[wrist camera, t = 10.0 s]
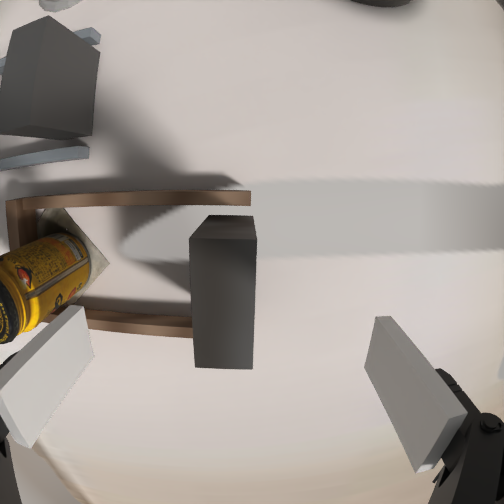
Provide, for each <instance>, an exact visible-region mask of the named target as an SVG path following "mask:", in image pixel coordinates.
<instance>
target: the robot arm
mask: <svg viewBox="0 0 504 504" xmlns="http://www.w3.org/2000/svg"><path fill="white" fill-rule="evenodd" d="M352 1H355V2H358V3H362V4H366V5H371V6H378V7H396V6H401V5H405V4H407V3H409V2H411V1H412V0H352ZM496 1H497V2H498V3H499V5H500V6H501V7H502V8H503V10H504V0H496ZM93 358H94V352H93V348H92V344H91V339H90V335H89V330H88V326H87V321H86V316H85V311H84V306H76V305H70V306H69V307H68V308H66V309H65V310H64V311H63V312H62V313H61V314H60V315H58V316H57V317H56V318H55V319H54V320H53V321H52V322H51V323H49V324H48V325H47V326H46V327H45V328H44V329H43V330H42V331H41V332H40V333H38V334H37V335H36V336H35V337H34V338H33V339H32V340H31V341H30V342H29V343H28V344H27V345H26V346H24V347H23V348H22V349H21V350H20V351H18V352H16V353H14V354H12V355H11V356H9V357H8V358H7V359H6V360H5V361H4V362H3V364H1V365H0V504H22V502H21V499H20V495H19V491H18V487H17V483H16V478H15V474H14V469H13V464H12V459H11V452H10V446H9V442H8V440H7V438H6V436H7V434H8V433H9V432H10V433H11V435H12V437H13V438H14V440H15V442H16V443H18V444H20V445H23V446H25V447H27V448H29V449H31V447H32V446H33V444H34V443H35V441H36V440H37V438H38V437H39V435H40V434H41V432H42V430H43V429H44V427H45V426H46V424H47V423H48V421H49V420H50V418H51V417H52V415H53V414H54V413H55V411H56V410H57V408H58V407H59V405H60V404H61V402H62V401H63V399H64V398H65V397H66V395H67V394H68V392H69V391H70V389H71V388H72V387H73V385H74V384H75V382H76V381H77V380H78V378H79V377H80V375H81V374H82V373H83V371H84V370H85V369H86V367H87V366H88V364H89V363H90V362H91V360H92V359H93ZM364 368H365V370H366V372H367V374H368V376H369V378H370V380H371V382H372V384H373V386H374V388H375V390H376V392H377V394H378V396H379V398H380V400H381V402H382V404H383V406H384V408H385V410H386V412H387V414H388V416H389V418H390V420H391V422H392V424H393V426H394V428H395V430H396V432H397V434H398V437H399V439H400V441H401V443H402V445H403V447H404V449H405V451H406V454H407V456H408V458H409V460H410V462H411V464H412V467H413V469H414V471H415V473H419V472H423V471H426V470H429V469H433V468H434V467H435V466H436V464H437V463H438V461H439V460H440V458H442V460H443V462H444V464H445V465H444V466H443V468H442V469H441V471H440V472H439V473H438V475H437V476H436V477H435V479H434V480H433V483H435V482H436V481H437V483H436V485H435V488H434V491H433V493H432V496H431V498H430V500H429V503H428V504H504V423H503V422H502V420H501V419H500V418H499V417H497V416H496V415H493V414H491V413H480V411H479V410H478V409H477V408H476V406H475V405H474V404H473V402H472V401H471V400H470V399H469V397H468V396H467V395H466V394H465V392H464V391H462V389H461V387H460V386H459V385H457V382H456V381H455V380H454V379H453V377H452V376H451V375H450V374H448V373H447V372H445V371H444V370H442V369H441V368H439V369H434V368H433V367H432V365H431V364H430V363H429V362H428V360H427V359H426V358H425V357H424V355H423V354H422V353H421V352H420V350H419V349H418V348H417V347H416V346H415V344H414V343H413V342H412V341H411V339H410V338H409V337H408V336H407V335H406V333H405V332H404V331H403V330H402V329H401V327H400V326H399V325H398V324H397V323H396V322H395V320H394V319H393V318H392V317H391V316H382V317H376V318H375V323H374V328H373V332H372V337H371V341H370V346H369V350H368V354H367V358H366V362H365V366H364ZM437 479H438V480H437Z"/></svg>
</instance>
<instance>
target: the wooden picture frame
mask: <svg viewBox="0 0 504 504" xmlns="http://www.w3.org/2000/svg"><path fill="white" fill-rule="evenodd" d="M126 205H234V206H237V205H238V206H240V205H241V206H250V205H251V191H243V190H148V191H116V192H93V193H76V194H60V195H47V196H35V197H24V198H19V199H13V200H8V201H6V217H7V228H8V238H9V246H10V251H12V250H15V249H17V248H19V247H22V246H24V245H27V244H29V243H31V242H34V241H36V240H38V236H37V225H36V211H35V209H44V208H64V207H89V206H126ZM189 253H190V254H189V257H190V288H191V311H192V317H180V316H162V315H147V314H134V313H122V312H110V311H100V310H90V309H84V311H85V316H86V321H87V326H88V329H94V330H103V331H111V332H121V333H130V334H141V335H153V336H166V337H181V338H193V345H194V359H195V367H197V368H216V369H253V343H254V315H255V285H256V255H257V237H256V231H255V225H254V219H253V216H237V215H209V216H208V217H207V218H206V219H205V220H204V222H203V223H202V224H201V225H200V226H199V227H198V228H197V230H196V231H195V232H194V233H193V234H192V236H191V237H190V238H189ZM66 308H68V307H63V306H60V307H59V308H58V309H57V310H55V311H54V312H52V313H51V314H50V315H49V316H48V317H47V318H45V319H44V320H43V321H42V322H46V323H51V322H52V321H53V320H54V319H55V318H56V317H57V316H58V315H60V314H61V313H62V312H63V311H64V310H65V309H66Z"/></svg>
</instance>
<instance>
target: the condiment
mask: <svg viewBox="0 0 504 504" xmlns="http://www.w3.org/2000/svg"><path fill="white" fill-rule="evenodd" d="M36 225H37V236H38V240H36V241H34V242H31V243H29V244H27V245H24V246H22V247H19V248H17V249H15V250H12V251H10V252H8V253H5V254H3V255H1V256H0V344H5V343H8V342H12V341H13V340H14V338H15V337H16V336H17V335H19V334H21V333H22V332H28V331H31V330H32V329H33V328H35V327H37V325H38V324H39V323H41V322H42V321H43V320H44V319H45V318H47V317H48V316H49V315H50V314H51V313H52V312H54V311H55V310H57V309H58V308H59V307H60V306H61V305H63V304H64V303H65V302H66V303H67V305H68V306H70V305H74V304H75V302H76V301H77V300H78V299H79V298H80V297H81V295H82V294H83V293H84V292H85V291H86V290H87V289H88V287H89V286H90V285H91V284H92V283H93V282H94V281H95V279H96V278H97V277H98V276H99V275H100V274H101V273H102V271H103V270H104V269H105V268H106V267H107V266H108V265H109V264H110V263H109V262H108V261H107V260H106V259H105V257H104V256H103V255H102V254H101V253H100V252H99V250H98V249H97V248H96V247H95V246H94V245H93V243H92V242H91V241H90V240H89V238H88V237H87V236H86V235H85V234H84V233H83V232H82V231H81V229H80V228H79V227H78V226H77V225H76V224H75V223H74V222H73V220H72V219H71V217H70V216H69V215H68V213H67V212H66V211H65V210H64V209H63V208H46V209H45V211H44V212H43V214H42V215H41V217H40V219H39V220H38V222H37V223H36ZM66 228H67V230H66Z"/></svg>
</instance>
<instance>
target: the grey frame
mask: <svg viewBox="0 0 504 504" xmlns="http://www.w3.org/2000/svg"><path fill="white" fill-rule="evenodd" d="M100 38H101V34H99V33H98V32H97V31H96V30H95V29H94V28H92V27H91V28H87V29H83V30H79V31H76V32H72V31H70V30H69V29H68V28H66V27H65V26H63V25H62V24H60V23H59V22H58V21H56V20H55V19H53V18H52V17H50V16H49V15H48V16H46V17H43V18H41V19H38V20H36V21H33V22H31V23H28V24H26V25H24V26H22V27H19V28H17V29H15V30H13V32H12V36H11V39H10V43H9V47H8V52H7V56H6V57H4V58H2V59H0V75H2V74H3V76H2V81H1V87H0V135H13V136H25V137H36V138H46V139H55V140H64V139H71V138H78V137H85V136H92V125H93V110H94V99H95V89H96V80H97V72H98V64H99V57H100V52H99V51H98V50H96V49H95V48H94V47H92V45H96V44H99V43H100ZM88 158H89V147H84V146H73V147H66V148H59V149H53V150H46V151H40V152H35V153H29V154H24V155H19V156H14V157H9V158H4V159H0V171H3V170H9V169H15V168H20V167H27V166H33V165H40V164H47V163H54V162H62V161H70V160H79V159H88Z"/></svg>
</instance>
